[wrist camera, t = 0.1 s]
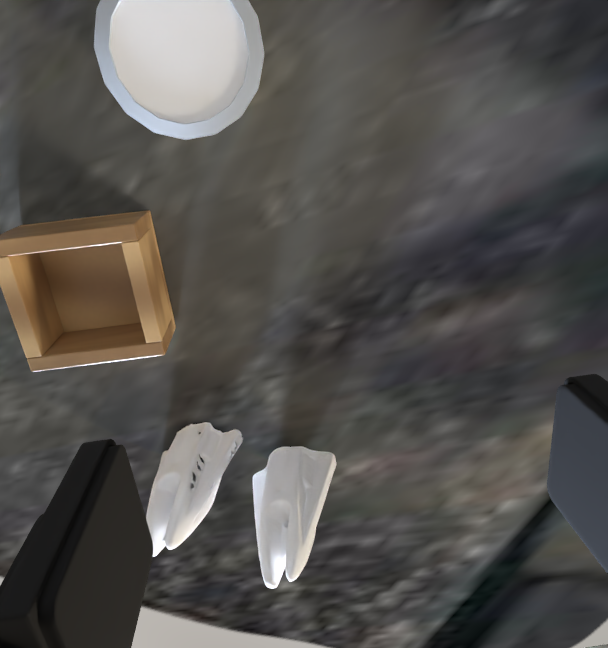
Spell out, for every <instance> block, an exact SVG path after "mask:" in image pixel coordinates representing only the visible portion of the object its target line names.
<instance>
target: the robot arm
mask: <svg viewBox="0 0 608 648" xmlns="http://www.w3.org/2000/svg"><path fill="white" fill-rule="evenodd" d="M547 488H548V492H549V495H550V498H551V499H552V501H553V503H554V504H555V505H556V506H557V508H558V509H559V510H560V512H561V513H562V514H563V516H564V517H565V518H566V520H567V521H568V522H569V524H570V525H571V526H572V528H573V529H574V530H575V532H576V533H577V534H578V535H579V537H580V538H581V539H582V541H583V542H584V543H585V545H586V546H587V547H588V549H589V550H590V551H591V553H592V554H593V555H594V557H595V558H596V559H597V560H598V562H599V563H600V564H601V566H602V567H603V568H604V570H605V571H606V572H607V574H608V382H607V381H606V380H605V379H603V378H602V377H601V376H599V375H597V374H591V375H584V376H577V377H569V378H567V379H566V380H565V382H564V385H561V386H559V388H558V390H557V397H556V406H555V415H554V425H553V434H552V443H551V452H550V461H549V471H548V480H547ZM152 558H153V542H152V537H151V534H150V531H149V527H148V524H147V521H146V517H145V514H144V510H143V507H142V504H141V500H140V497H139V494H138V490H137V487H136V483H135V480H134V477H133V473H132V470H131V467H130V463H129V460H128V456H127V453H126V450H125V447H124V446H123V445H116V443H115V442H114V440H112V439H108V440H101V441H93V442H86V443H83V444H82V445H81V447H80V448H79V450H78V452H77V454H76V456H75V458H74V460H73V461H72V463H71V465H70V467H69V469H68V471H67V473H66V474H65V476H64V478H63V480H62V482H61V484H60V486H59V487H58V489H57V491H56V493H55V495H54V497H53V499H52V500H51V502H50V504H49V506H48V508H47V510H46V512H45V513H44V514H42V515H41V516H40V517H39V518H38V519H37V521H36V522H35V524H34V526H33V527H32V529H31V531H30V533H29V535H28V536H27V538H26V540H25V542H24V544H23V546H22V547H21V549H20V551H19V553H18V555H17V556H16V558H15V560H14V562H13V564H12V566H11V567H10V569H9V571H8V573H7V575H6V577H5V578H4V580H3V582H2V584H1V586H0V648H131V646H132V642H133V637H134V633H135V629H136V625H137V621H138V616H139V612H140V608H141V604H142V600H143V596H144V592H145V587H146V583H147V579H148V575H149V571H150V567H151V562H152ZM586 648H608V644H607V645H600V646H593V647H586Z"/></svg>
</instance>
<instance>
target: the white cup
mask: <svg viewBox="0 0 608 648" xmlns="http://www.w3.org/2000/svg"><path fill="white" fill-rule="evenodd" d="M94 49H95V53H96V56H97V60H98V63H99V66H100V70H101V73H102V77H103V80H104V83H105V85H106V86H107V88H108V89H109V90H110V92H111V93H112V94H113V96H114V97H115V99H116V100H117V101H118V103H119V104H120V106H121V107H122V108H123V110H124V111H125V113H126V114H128V115H129V116H131V117H132V118H134V119H135V120H137V121H138V122H140V123H141V124H142V125H144V126H145V127H147V128H148V129H150V130H151V131H153V132H154V133H158V134H162V135H167V136H171V137H175V138H180V139H184V140H188V139H193V138H198V137H204V136H209V135H215V134H217V133H218V132H220V131H221V130H223V129H224V128H226V127H227V126H228V125H230V124H231V123H233V122H234V121H236V120H237V119H239V118H240V117H241V116H242V115H243V113H244V111H245V110H246V108H247V106H248V105H249V103H250V102H251V100H252V98H253V97H254V95H255V93H256V92H257V90H258V88H259V82H260V77H261V71H262V65H263V60H264V48H263V43H262V37H261V31H260V26H259V20H258V16H257V15H256V13H255V11H254V9H253V8H252V6H251V4H250V2H249V1H248V0H101V1H100V3H99V5H98V7H97V9H96V22H95V37H94Z"/></svg>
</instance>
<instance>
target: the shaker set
mask: <svg viewBox="0 0 608 648" xmlns="http://www.w3.org/2000/svg"><path fill="white" fill-rule="evenodd" d="M199 432H201V434H199ZM241 436H242V435H241V432H240V431H239V430H236V429H234V430H231V431H229V432H225V433H222V432H221V431H220V430H219V431H218V430H216V429H214V428H213V426H211V423H208V422H204V423H199V424H194V425H193V424H190V425H189V426H186V428H183V429H182V430H180V431H179V432H177V434H176V436H175V438H174V440H173V442H172V444H171V446H170V448H169V450H167V451H164V452H163V453H162V457H161V462H160V465H159V469H158V472H157V475H156V477H155V480H154V483H153V486H152V491H151V495H150V500H149V505H148V510H147V516H146V521H147V524H148V527H149V531H150V534H151V537H152V542H153V556H156V555H158V553H159V552H160V551H161V550H162V549H163V548H164V547H165V546H166V547H167V548H168V549H169V550H171V549H174V548H176V547H177V546H179V545H180V544H181V543H182V542H183V541H184V540H185V539H186V538H187V537H188V536H189V535H190V534H191V533H192V532H193V531H194V529H195V528H196V527H197V526H198V525H199V523H200V522H201V521H202V520H203V518H204V517H205V516H206V514H207V513H208V511H209V510H210V508H211V506H212V504H213V502H214V499H215V496H216V493H217V490H218V487H219V484H220V481H221V477H222V474H223V473H224V471H225V469H226V468H227V466H228V464H229V462H230V460H231V459H232V457H233V456H234V454H235V452H236V450H237V449H238V448H239V446H240V445H241V443H242V441H243V440H242V438H243V437H241ZM235 441H236V442H235ZM199 454H200V457H201V458H203V460H204V463H205V465H204V463H202V462H201V460H200V457H199ZM197 461H198V465H199V466H200V468H201V470H199V469H198V468H197ZM336 464H337V463H336V460H335V456H334V455H333V454H332V453H330V452H322V451H314V450H310V449H307V448H305V447H302V446H298V447H286V446H285V447H280V448H277V449H275V450H274V451H273V452H272V453H271V454H270V455H269V459H268V464H267V466H266V468H265V469H263V470H262V471H260V472H258V473H256V474H254V476H253V479H252V480H253V498H254V513H255V523H256V534H257V543H258V552H259V559H260V564H261V570H262V575H263V579H264V583H265V585H266V586H267V587H269V588H276V587H277V586H278V584H279V582H280V579H281V577H282V574H283V571H284V569H285V568H286V576H287V578H288V580H289V581H294V580H295V579H297V578H298V576H299V575H300V573H301V571H302V570H303V568H304V566H305V564H306V562H307V560H308V557H309V554H310V551H311V548H312V545H313V541H314V537H315V532H316V525H317V523H318V520H319V517H320V514H321V511H322V507H323V504H324V501H325V498H326V495H327V492H328V488H329V485H330V482H331V479H332V475H333V472H334V470H335V467H336ZM285 565H286V566H285Z"/></svg>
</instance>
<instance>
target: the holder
mask: <svg viewBox="0 0 608 648" xmlns="http://www.w3.org/2000/svg"><path fill="white" fill-rule="evenodd" d="M0 286H1V288H2V291H3V294H4V297H5V300H6V302H7V305H8V308H9V311H10V314H11V316H12V319H13V322H14V325H15V328H16V330H17V333H18V336H19V339H20V342H21V344H22V347H23V350H24V353H25V356H26V358H27V361H28V363H29V366H30V369H31V371H32V372H36V371H44V370H52V369H60V368H68V367H75V366H83V365H91V364H99V363H107V362H114V361H122V360H130V359H138V358H146V357H153V356H161V355H165V353H166V351H167V348H168V346H169V343H170V341H171V338H172V335H173V333H174V331H175V328H176V326H175V321H174V317H173V312H172V308H171V303H170V299H169V294H168V290H167V285H166V281H165V276H164V272H163V267H162V262H161V258H160V253H159V249H158V244H157V240H156V235H155V231H154V226H153V222H152V217H151V213H150V211H149V210H147V211H138V212H130V213H121V214H113V215H104V216H96V217H87V218H79V219H70V220H62V221H53V222H45V223H36V224H28V225H20V226H18V227H16V228H13V229H11V230H9V231H7V232H5V233H3V234H0Z"/></svg>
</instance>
